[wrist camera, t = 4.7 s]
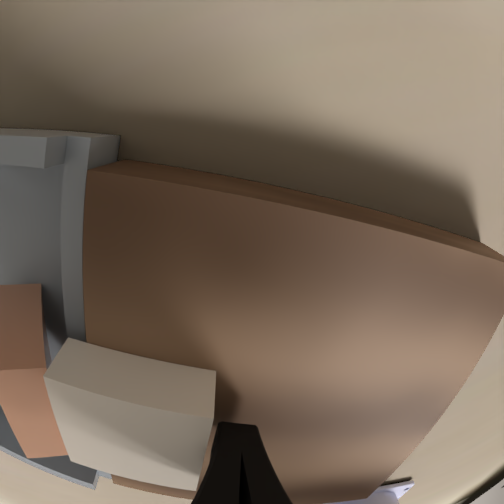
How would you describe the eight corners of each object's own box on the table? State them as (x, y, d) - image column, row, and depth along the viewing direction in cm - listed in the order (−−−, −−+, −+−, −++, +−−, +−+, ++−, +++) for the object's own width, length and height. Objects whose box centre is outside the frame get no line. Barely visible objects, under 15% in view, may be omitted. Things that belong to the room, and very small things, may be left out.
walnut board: (356, 463, 17) (366, 498, 14) (123, 444, 15) (113, 483, 13) (481, 242, 12) (523, 268, 9) (125, 159, 10) (87, 169, 7)
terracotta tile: (72, 454, 9) (27, 458, 8) (53, 371, 13) (18, 373, 11) (46, 367, 7) (-14, 370, 6) (41, 283, 11) (-2, 284, 10)
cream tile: (198, 452, 11) (195, 490, 9) (84, 426, 11) (70, 461, 9) (216, 370, 10) (214, 418, 8) (68, 337, 9) (42, 375, 7)
